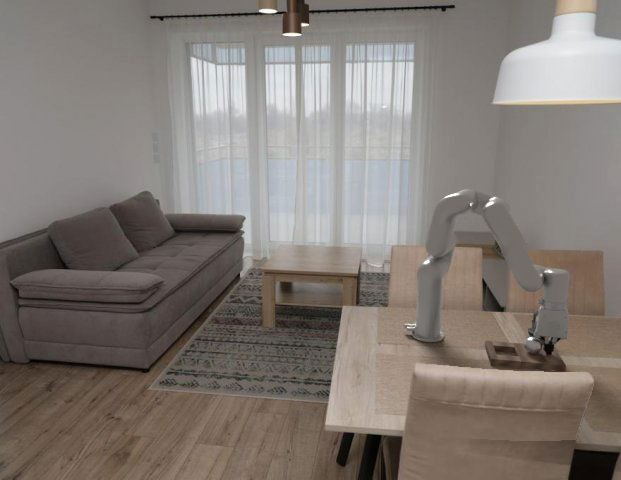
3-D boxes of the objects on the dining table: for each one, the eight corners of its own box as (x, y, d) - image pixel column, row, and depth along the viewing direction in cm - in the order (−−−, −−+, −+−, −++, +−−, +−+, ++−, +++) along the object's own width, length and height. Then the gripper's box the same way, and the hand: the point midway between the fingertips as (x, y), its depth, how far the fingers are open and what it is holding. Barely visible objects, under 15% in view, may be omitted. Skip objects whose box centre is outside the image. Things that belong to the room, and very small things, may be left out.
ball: (526, 357, 172) (525, 341, 171) (522, 349, 178) (521, 334, 176) (544, 356, 171) (544, 340, 169) (540, 349, 176) (539, 333, 175)
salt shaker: (544, 343, 188) (548, 314, 185) (528, 342, 189) (531, 312, 186) (540, 337, 193) (544, 308, 190) (525, 335, 194) (528, 307, 192)
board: (490, 365, 171) (491, 358, 170) (484, 346, 185) (485, 340, 184) (565, 372, 166) (565, 365, 165) (553, 352, 180) (553, 346, 180)
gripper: (533, 306, 167) (527, 356, 171) (581, 309, 164) (574, 360, 168) (528, 299, 174) (523, 346, 178) (574, 302, 171) (567, 350, 175)
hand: (548, 353), depth 173 cm, fingers closed
